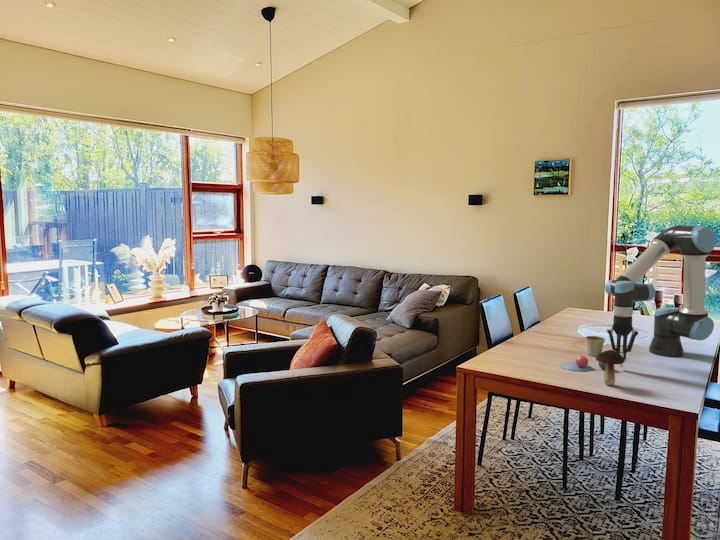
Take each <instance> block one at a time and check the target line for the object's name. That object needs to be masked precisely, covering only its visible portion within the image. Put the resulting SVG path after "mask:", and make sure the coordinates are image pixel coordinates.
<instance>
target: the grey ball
mask: <svg viewBox="0 0 720 540" xmlns="http://www.w3.org/2000/svg"><path fill="white" fill-rule="evenodd" d="M598 367H599V368H601V369H602V370H604V371H605V367H606V363H602V362H599V361H598Z"/></svg>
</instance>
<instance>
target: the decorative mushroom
mask: <svg viewBox="0 0 720 540" xmlns="http://www.w3.org/2000/svg"><path fill="white" fill-rule="evenodd" d="M595 360H596V361H597V362H598V363H599V362H602V363H606V367H605V370H604V373H603V374H604V376H603V382H604V383H605V384H606V386H613V385H614V384H615V382H616V368H615V365H618V364H622V363H623V364H624V363H625V362H626V359H625V360H624V358H623V357H622V356H621V355H620V354H619V353H617V352H616V351H613V349H608V350H605V351H602V353H600V354H598V355H597V356H595Z"/></svg>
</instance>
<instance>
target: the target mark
mask: <svg viewBox="0 0 720 540" xmlns="http://www.w3.org/2000/svg"><path fill="white" fill-rule="evenodd" d="M559 367H560V368H561V369H563V370H565V371H570V372H577V371H578V372H580V373H582V372H584V373H585V372H589V371H592V370H593V367H592V366H591V365H589V364H588V365H587V366H586V367H584V368H581V367H578V366H577V365H576V362H575V361H574V362H572V361H571V362H570V361H567V362H566V361H565V362H562V363H560V364H559Z"/></svg>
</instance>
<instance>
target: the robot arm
mask: <svg viewBox="0 0 720 540" xmlns="http://www.w3.org/2000/svg"><path fill="white" fill-rule="evenodd" d="M716 244H717V237H716V234H715V232H714V231H713V230H712V229H711V228H710V227H708V226H701V225H673V226H671V227H668V228H666V229H665V230H663V231H662V232H660V233H658V234H657V235H656V236H655V237H654V238H653V239H652V240H650V245H649V246H648V247H647V248H646V249H644V251H643V252H641V254H640V255H639V256H638V257H636V259H635V260H634V261H632V263H631V264H630V265H629V266H628V267H627V268H626V269H625V270H624V271H623V272H622V273H621V274H620V275H619V276H618V277H617V278H616V279H609V280H608V281H607V282H606V283H605V285H604V290H605V292H606V294H608V295H610V296H613V297H614V306H613V308H614V309H613V314H614V315H613V321H612V322H613V324H612V326H611V327H610V328H607V329H606V332H607V334H608V335H609V340H610V341H609V342H610V345H611V350H613V351H615V352H617V353H619V354H620V355H621V356H622V357H623V358H624V360H625V361H626V359H627V353H630V352H632V349H633V346H634V342H635V339H636V337H637V336H638V334H639V332H638V330H635V329H634V327H633V309H634V303H635V302H643V301H645V302H647V301H651V300H653V299H654V298H655V297H656V289H655V286H653V285H652V284H650V283H642V284H641V283H638V282H639V281H640V279H642V278H643V277H644V276H645V275H646V274H647V273H648V272H649V271H650V269H652V268H653V267H654V265H656V263H658V261H659V260H661V259H662V258H663V256H666V255H669V254H670V252H672V251H675V250H676V251H677V250H678V251H679V254H680V256H681V257H682V258H683V284H682V285H683V289H682V290H683V292H682V293H683V294H682V295H683V297H682V308H681V307H659V308H656V309H655V312H654V320H653V321H654V323H653V324H654V325H653V338H652V339H651V342H650V344H649V347H648V351H649V353H650V354H654V355H658V356H664V357H676V358H677V357H681V356H684V350H685V349H684V346H683V344H682V341H681V337H682V338H687V339H690V340H696V341H703V340H706V339H708V338H709V337H710V336H711V335H712V333H713V332H714V327H715V322H714V320H713V319H712V318H711V317H709V311H708V310H707V309H705V293H706V292H705V290H706V288H705V287H706V259H707V257H709V256H710V252H712V251H713V250H714V249H715V247H716ZM613 333H615V334H616V345H615V340H614V336H613ZM630 334H631V336H630V338H629V342H628V336H629V335H630ZM621 338H622V339H621ZM621 342H622V351H621ZM617 365H618V367H619V368H623V367H624V363H622V364H617Z"/></svg>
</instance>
